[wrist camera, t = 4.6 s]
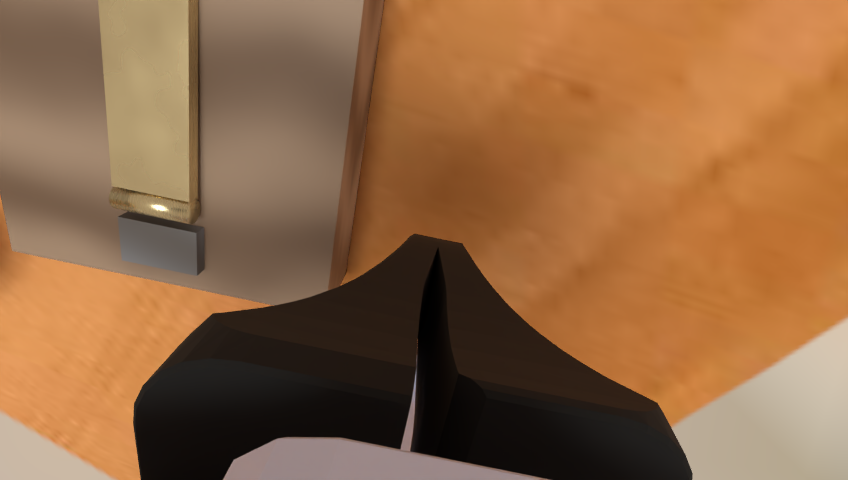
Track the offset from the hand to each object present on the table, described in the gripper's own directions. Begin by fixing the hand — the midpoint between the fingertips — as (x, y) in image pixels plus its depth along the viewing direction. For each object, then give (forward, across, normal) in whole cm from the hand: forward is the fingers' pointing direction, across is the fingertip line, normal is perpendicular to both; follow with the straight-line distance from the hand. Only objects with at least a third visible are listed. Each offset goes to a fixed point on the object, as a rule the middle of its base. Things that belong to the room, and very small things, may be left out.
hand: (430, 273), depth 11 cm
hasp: (+6, +11, -2) cm, 13 cm away
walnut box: (+10, +11, -2) cm, 15 cm away
